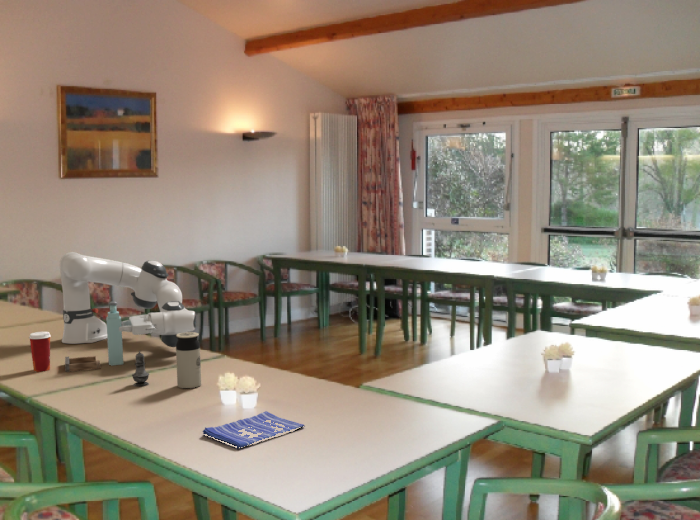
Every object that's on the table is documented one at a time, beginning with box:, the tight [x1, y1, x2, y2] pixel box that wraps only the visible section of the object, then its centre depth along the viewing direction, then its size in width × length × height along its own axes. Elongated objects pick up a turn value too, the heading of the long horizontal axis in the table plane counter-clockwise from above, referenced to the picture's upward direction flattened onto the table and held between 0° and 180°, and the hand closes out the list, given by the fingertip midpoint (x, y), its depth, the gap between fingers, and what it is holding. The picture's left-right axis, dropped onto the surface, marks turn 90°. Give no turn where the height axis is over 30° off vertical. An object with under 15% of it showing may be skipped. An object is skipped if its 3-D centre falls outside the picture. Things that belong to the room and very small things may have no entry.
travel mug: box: [175, 331, 202, 389], centre depth 256 cm, size 8×8×18 cm
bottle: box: [105, 301, 124, 366], centre depth 288 cm, size 5×5×24 cm
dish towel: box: [201, 410, 306, 448], centre depth 209 cm, size 17×24×3 cm
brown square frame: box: [64, 355, 101, 373], centre depth 285 cm, size 12×12×3 cm
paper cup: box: [28, 331, 52, 373], centre depth 280 cm, size 8×8×14 cm
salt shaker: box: [131, 350, 150, 388], centre depth 259 cm, size 6×6×12 cm
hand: (118, 326), depth 288 cm, fingers open, 8 cm apart
